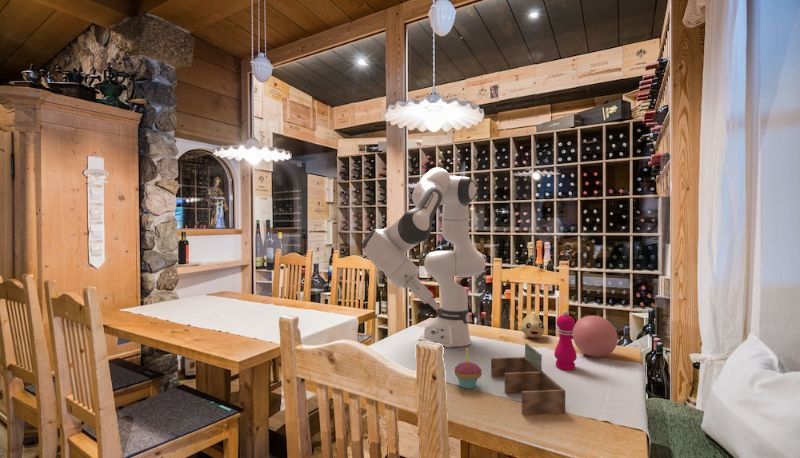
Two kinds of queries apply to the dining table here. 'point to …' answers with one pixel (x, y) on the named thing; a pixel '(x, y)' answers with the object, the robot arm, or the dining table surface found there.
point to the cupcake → (467, 373)
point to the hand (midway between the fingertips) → (434, 304)
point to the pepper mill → (565, 343)
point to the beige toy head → (532, 326)
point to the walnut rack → (530, 382)
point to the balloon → (595, 336)
